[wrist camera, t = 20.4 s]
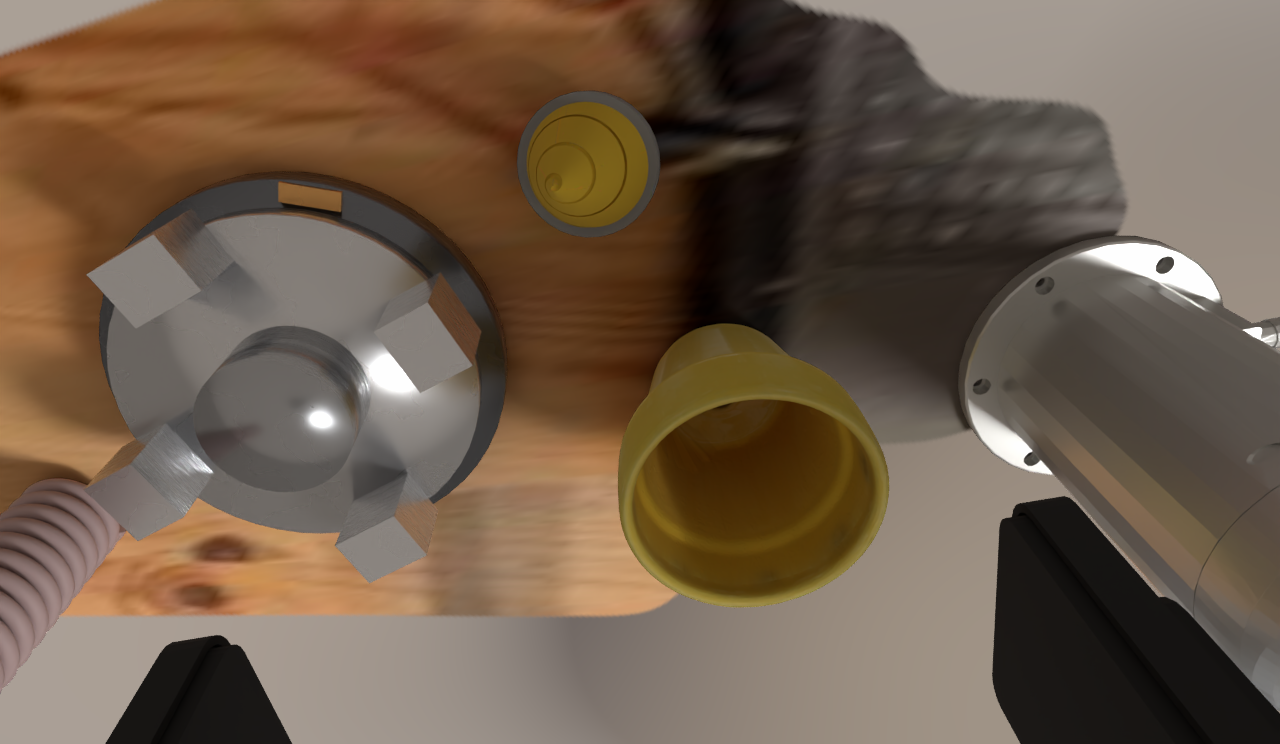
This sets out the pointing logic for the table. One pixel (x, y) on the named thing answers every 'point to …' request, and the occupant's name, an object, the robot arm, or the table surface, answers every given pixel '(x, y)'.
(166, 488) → the steel lathe chuck
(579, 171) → the stepped yellow cone
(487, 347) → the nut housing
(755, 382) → the plant pot
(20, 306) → the table surface
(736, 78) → the table surface
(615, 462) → the table surface
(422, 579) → the table surface
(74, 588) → the coil
